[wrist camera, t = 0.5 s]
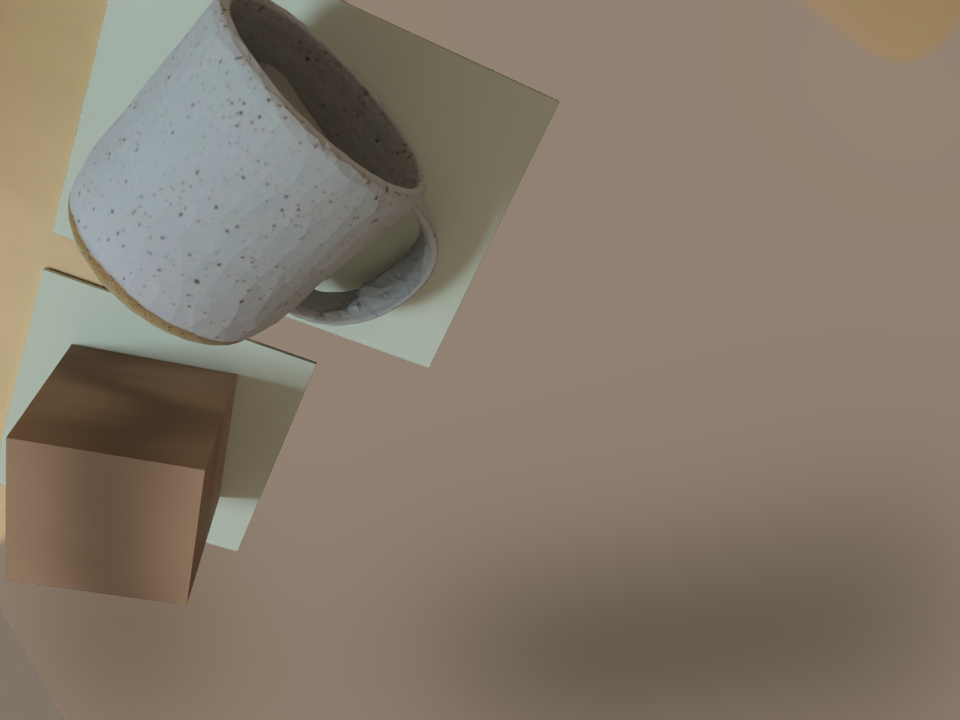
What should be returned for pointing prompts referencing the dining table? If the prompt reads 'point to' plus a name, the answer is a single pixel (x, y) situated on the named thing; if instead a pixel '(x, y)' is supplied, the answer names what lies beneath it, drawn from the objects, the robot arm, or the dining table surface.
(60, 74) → the dining table surface
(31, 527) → the walnut block
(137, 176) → the ceramic mug
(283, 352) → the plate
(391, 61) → the plate
